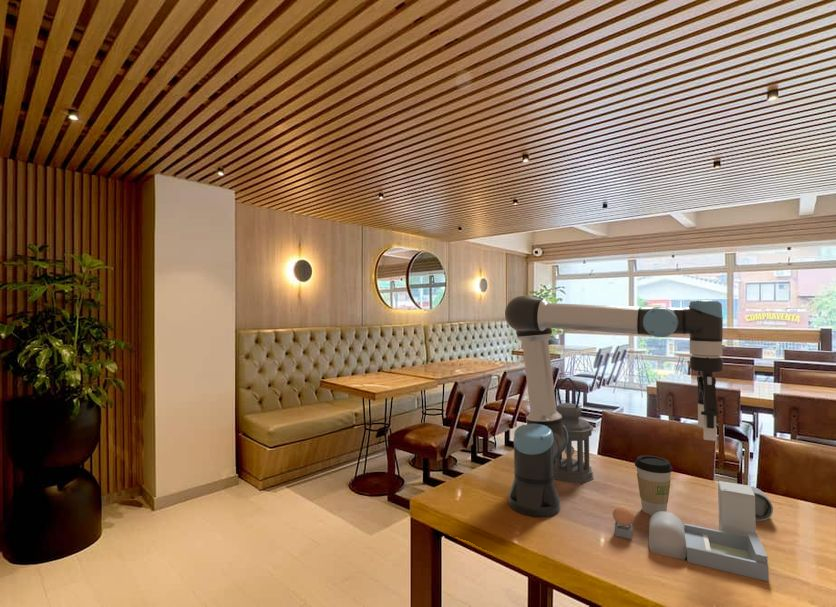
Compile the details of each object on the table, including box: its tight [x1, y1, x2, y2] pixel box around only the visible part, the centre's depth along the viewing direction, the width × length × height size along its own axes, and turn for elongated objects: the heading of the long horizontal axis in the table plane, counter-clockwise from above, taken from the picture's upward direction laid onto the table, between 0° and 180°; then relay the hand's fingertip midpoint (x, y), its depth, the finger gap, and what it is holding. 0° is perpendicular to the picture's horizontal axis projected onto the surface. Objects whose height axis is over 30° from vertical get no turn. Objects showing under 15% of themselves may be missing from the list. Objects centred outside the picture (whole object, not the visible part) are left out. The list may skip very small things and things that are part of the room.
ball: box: [612, 504, 635, 526], centre depth 112 cm, size 5×5×5 cm
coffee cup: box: [634, 454, 673, 516], centre depth 124 cm, size 10×10×15 cm
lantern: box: [553, 377, 595, 484], centre depth 154 cm, size 17×17×35 cm
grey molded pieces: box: [614, 511, 770, 582], centre depth 105 cm, size 31×13×8 cm, turn 60°
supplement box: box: [717, 480, 757, 536], centre depth 111 cm, size 7×7×13 cm
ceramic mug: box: [750, 485, 774, 522], centre depth 123 cm, size 11×8×8 cm
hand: (706, 433), depth 116 cm, fingers open, 13 cm apart
